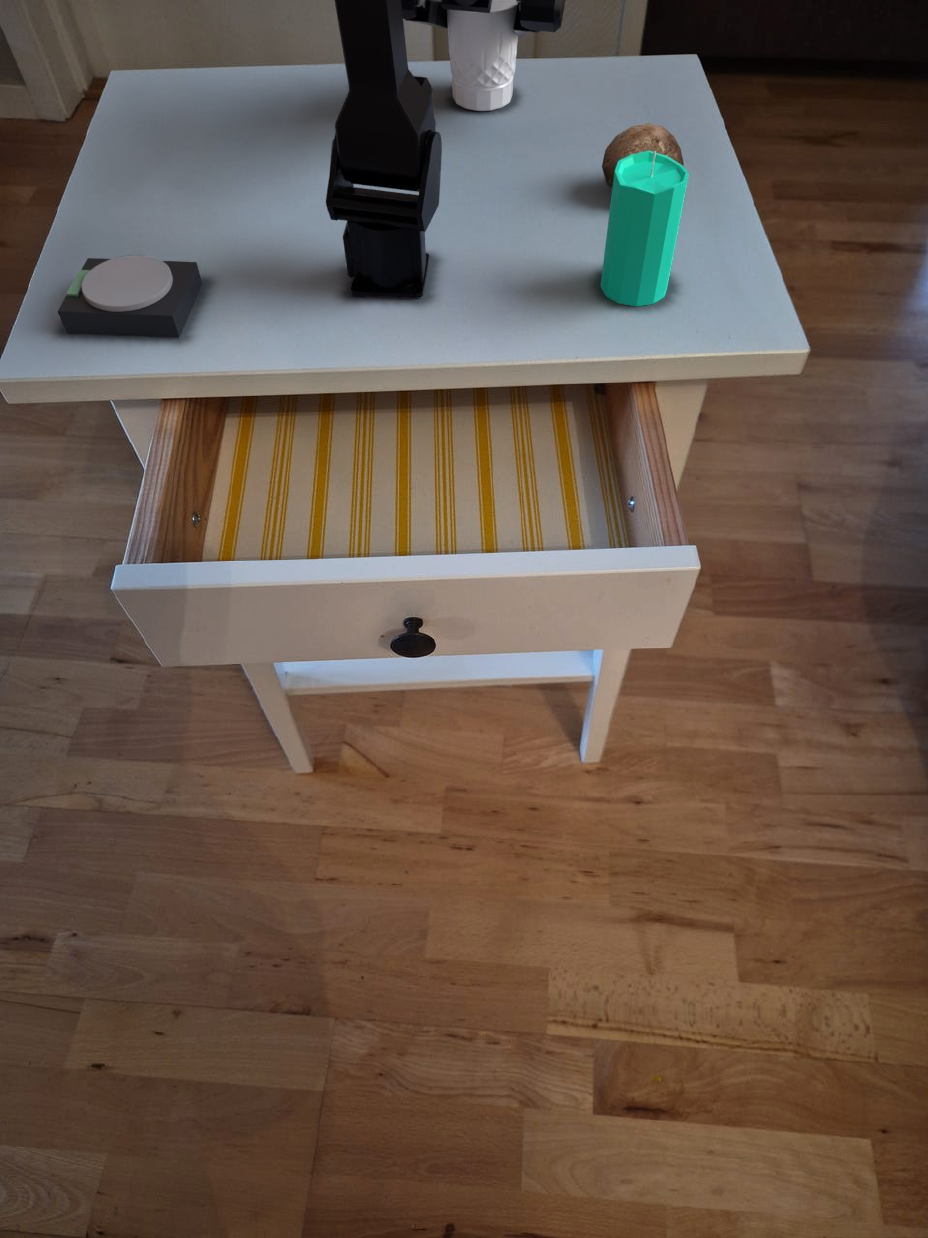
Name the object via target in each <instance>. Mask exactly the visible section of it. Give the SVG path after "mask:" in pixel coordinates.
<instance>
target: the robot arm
mask: <svg viewBox="0 0 928 1238" xmlns="http://www.w3.org/2000/svg"><path fill="white" fill-rule="evenodd" d="M516 2H517V10H516V16H515V23H514V29H513V30H514V32H515V33H516V35H517V36H518V37H521V38H522V37H523V36H525V35H528V34H532V33H533V34H534V33H535V34H538V33H540V32H545V33H556V32H557V31H558V30H559V29H561V28H562V24H563V17H564V11H565V6H566V0H516ZM491 3H492V0H334V7H335V11H336V12H335V13H336V18H337V23H338V30H339V36H340V42H341V49H342V54H343V60H344V66H345V72H346V78H347V85H348V86H347V87H348V92H347V94H346V96H345V99H344V101H343V104H342V107H341V108H340V110H339V113H338V114H337V115H338V116H337V118H336V119H335V122H334V131H335V133H334V138H333V139H332V142H331V152H330V164H329V175H328V180H327V181H328V182H327V183H328V184H327V189H326V197H325V207H326V210H327V212H328V215H329V218H330V220H331V221H335V222H337V221H346V223H345V226H344V230H343V233H342V243H343V250H344V258H345V265H346V272H347V273H346V274H347V277H348V278H349V279H352V280H351V284H350V294H351V295H352V296H355V297H376V298H377V297H379V298H380V297H381V298H405V299H420V298H422V297H423V296H424V292H425V287H426V281H427V275H428V271H429V266H430V265H429V264H430V254H429V253H427V250H426V249H427V248H426V232H427V230H428V227H429V225H430V224H431V221H432V219H433V218H434V216H435V214H436V212H437V210H438V208H439V206H440V193H441V192H440V191H441V174H442V155H443V143H442V137H441V132H440V131H437V128H436V126H437V121H436V118H435V112H434V111H435V110H434V94H433V92H434V91H433V87H432V85H431V83H430V82H431V81H430V80H429V79H428V77H426V76H417V75H416V76H415V75H413V73H412V72H411V70H410V69H409V66H408V65H409V63H408V55H407V45H406V36H405V35H406V34H405V26H404V21H406V22H412V23H418V24H421V25H427V26H431V27H436V28H439V29H443V30H447V31H448V26H447V10H446V9H448V10H459V11H470V12H481V13H490V10H491ZM354 185H357V187H356V186H354ZM358 185H359V186H367V187H374V188H375V187H376V188H381V189H373V188H365V187H358ZM382 188H383V189H391V190H399V191H407V192H408V191H409V192H416V193H418V194H414V193H405V192H398V191H389V190H382Z"/></svg>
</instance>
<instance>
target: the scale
mask: <svg viewBox="0 0 928 1238" xmlns="http://www.w3.org/2000/svg"><path fill="white" fill-rule="evenodd" d="M202 286H203V280H202V277H201V273H200V270H199V265H198V262H197V261H180V260H179V261H178V260H161V259H159V258H157V257H154V256H150V255H145V254H130V255H129V254H128V255H122V256H117V257H114V258H99V257H98V258H97V257H96V258H95V257H94V258H93V257H87V258H86V261H85V262H84V264H83V265H82V267H81V268H80V269H79V270H78V272H77V273H76V274H75V277H74V279H73V281H72V282H71V284H70V286H69V288H67V291H66V293H65V297H64V298H63V301H61V304H60V305H59V307H58V310H57V312H56V313H57V314H58V317H59V319H60V322H61V324H62V327H63V328H64V331H65V333H66V334H75V335H76V334H77V335H79V334H80V335H102V336H103V335H104V336H130V337H152V338H153V337H154V338H177V339H178V338H180V337H181V335H182V332H183V330H184V328H185V325H186V323H187V321H188V319H189V317H190V314H191V312H192V310H193V307H194V305H195V302H196V301H197V297H198V295H199V293H200V290H201V288H202Z"/></svg>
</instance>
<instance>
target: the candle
mask: <svg viewBox="0 0 928 1238" xmlns="http://www.w3.org/2000/svg"><path fill="white" fill-rule="evenodd" d="M689 176H690V172H689V171H688V170H687V169H686V168H685V166H682V165H681V164H679V163H678V162H676V161H674V160H673V159H671V158H669V157H668V156H665V155H662V154H659V153H656V151H654V152H652V151H645V152H641V153H636V154H632V155H629V156H627V157H625V158H623V159H621V160H619V161H618V163H617V166H616V169H615V172H614V180H613V189H612V190H611V196H610V197H611V198H610V206H609V212H608V213H609V214H608V220H607V221H608V223H607V230H606V238H605V247H604V255H603V262H602V270H601V276H600V277H601V279H600V286H599V287H600V288H601V290H602V292H603V294H604V296H605V297H607V298H608V299H609V300H611V301H614V302H615V303H618V304H619V305H625V306H629V307H630V306H632V307H636V308H637V307H642V306H648V305H654V304H656V303H658V302H659V301H660V300H662V299H663V298H665V296H666V293H667V290H668V285H669V281H670V275H671V270H672V265H673V260H674V254H675V250H676V245H677V239H678V233H679V228H680V223H681V218H682V212H683V207H684V201H685V196H686V191H687V187H688V182H689Z"/></svg>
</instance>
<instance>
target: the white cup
mask: <svg viewBox="0 0 928 1238" xmlns="http://www.w3.org/2000/svg"><path fill="white" fill-rule="evenodd" d="M446 10H447V26H448V30H447V43H448V54H449V55H448V56H449V68H450V74H451V86H452V88H451V89H452V98H453V100H454V102H455V104H456V105H458V106H460V107H461V108H463V109H465V110H470V111H476V112H489V111H494V110H498V109H502V108H504V107H505V106H507V105H509V104H510V103H511V100H512V98H513V95H514V94H513V93H514V76H515V72H516V62H517V52H518V39H519V36H517V35H516V33H515V32H514V30H513V29H514V23H515V16H516V10H517V2H516V0H492V3H491V10H490V13H481V12H470V11H459V10H448V9H446Z"/></svg>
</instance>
